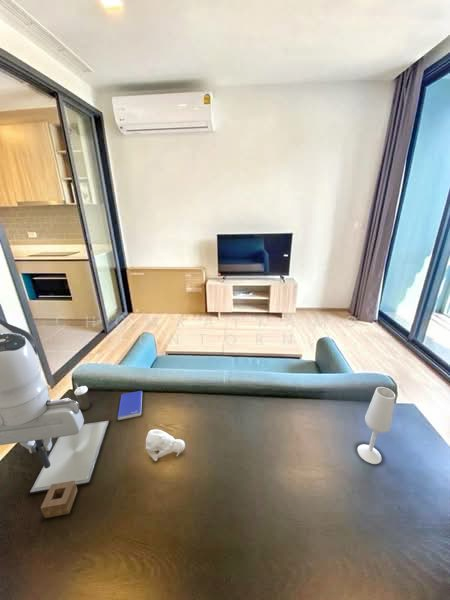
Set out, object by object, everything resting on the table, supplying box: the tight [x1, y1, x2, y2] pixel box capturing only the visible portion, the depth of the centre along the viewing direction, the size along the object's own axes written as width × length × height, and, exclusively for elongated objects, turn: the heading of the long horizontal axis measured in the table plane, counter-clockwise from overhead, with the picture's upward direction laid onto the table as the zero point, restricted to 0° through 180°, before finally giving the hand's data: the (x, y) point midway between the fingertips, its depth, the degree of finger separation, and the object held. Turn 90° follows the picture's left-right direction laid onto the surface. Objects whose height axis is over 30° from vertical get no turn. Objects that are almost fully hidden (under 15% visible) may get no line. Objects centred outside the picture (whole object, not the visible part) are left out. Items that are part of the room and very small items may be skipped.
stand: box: [40, 480, 79, 519], centre depth 65 cm, size 6×6×4 cm
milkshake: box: [73, 382, 91, 411], centre depth 97 cm, size 5×5×10 cm
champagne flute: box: [356, 386, 396, 465], centre depth 74 cm, size 7×7×24 cm
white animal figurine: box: [145, 428, 186, 462], centre depth 78 cm, size 6×8×12 cm
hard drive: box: [117, 390, 143, 421], centre depth 98 cm, size 2×8×12 cm
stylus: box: [34, 439, 51, 468], centre depth 59 cm, size 1×1×14 cm
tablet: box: [29, 420, 110, 495], centre depth 80 cm, size 15×22×1 cm
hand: (41, 449), depth 59 cm, fingers closed on stylus, 1 cm apart
